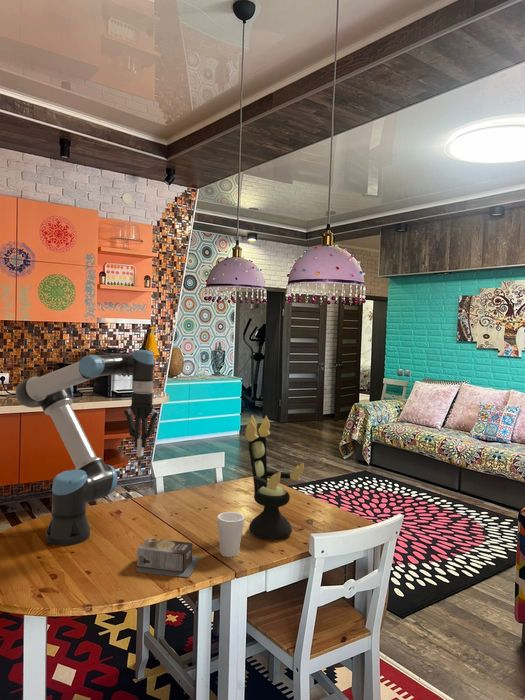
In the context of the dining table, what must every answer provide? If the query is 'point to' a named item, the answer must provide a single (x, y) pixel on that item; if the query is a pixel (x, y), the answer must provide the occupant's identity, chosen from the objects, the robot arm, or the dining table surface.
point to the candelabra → (268, 486)
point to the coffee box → (164, 554)
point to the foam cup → (230, 532)
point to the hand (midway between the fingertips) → (140, 455)
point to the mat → (169, 572)
